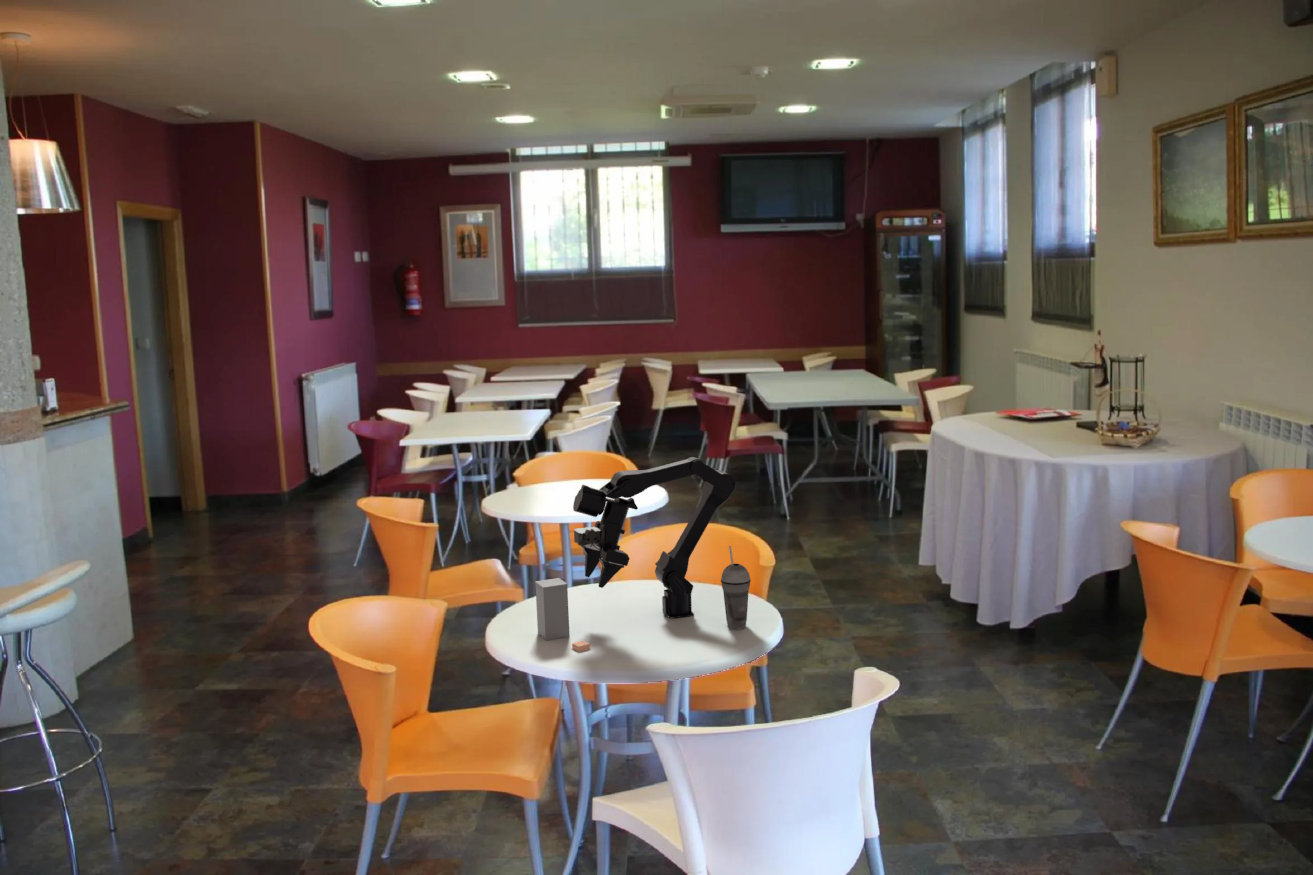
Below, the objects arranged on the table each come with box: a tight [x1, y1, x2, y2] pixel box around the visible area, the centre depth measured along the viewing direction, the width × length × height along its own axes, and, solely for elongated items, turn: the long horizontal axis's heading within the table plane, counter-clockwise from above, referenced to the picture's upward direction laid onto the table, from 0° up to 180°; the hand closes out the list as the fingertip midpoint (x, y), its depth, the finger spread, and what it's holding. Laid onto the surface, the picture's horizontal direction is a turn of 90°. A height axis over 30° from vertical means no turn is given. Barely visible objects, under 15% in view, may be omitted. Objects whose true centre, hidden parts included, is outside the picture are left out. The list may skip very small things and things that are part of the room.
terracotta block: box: [571, 640, 591, 652], centre depth 250 cm, size 3×3×2 cm
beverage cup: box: [720, 545, 751, 630], centre depth 261 cm, size 7×7×20 cm
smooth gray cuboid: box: [535, 577, 570, 641], centre depth 260 cm, size 6×6×13 cm
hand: (593, 581), depth 266 cm, fingers open, 9 cm apart
